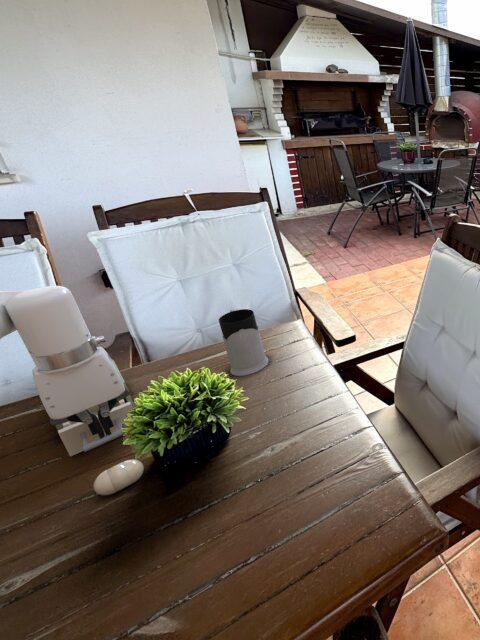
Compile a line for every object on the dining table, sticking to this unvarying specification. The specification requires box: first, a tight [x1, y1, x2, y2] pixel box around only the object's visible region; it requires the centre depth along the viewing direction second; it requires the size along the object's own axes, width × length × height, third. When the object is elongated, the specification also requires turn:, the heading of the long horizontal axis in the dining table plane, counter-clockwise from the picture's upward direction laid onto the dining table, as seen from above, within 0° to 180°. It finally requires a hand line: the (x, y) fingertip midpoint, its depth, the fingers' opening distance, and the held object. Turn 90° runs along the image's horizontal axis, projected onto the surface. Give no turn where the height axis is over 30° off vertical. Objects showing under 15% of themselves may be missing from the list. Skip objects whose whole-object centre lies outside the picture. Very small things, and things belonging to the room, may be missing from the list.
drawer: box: [57, 399, 133, 457], centre depth 82 cm, size 19×10×6 cm, turn 51°
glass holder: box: [218, 308, 269, 377], centre depth 106 cm, size 9×14×15 cm, turn 42°
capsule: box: [92, 458, 145, 496], centre depth 72 cm, size 7×4×4 cm
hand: (105, 432), depth 78 cm, fingers closed
